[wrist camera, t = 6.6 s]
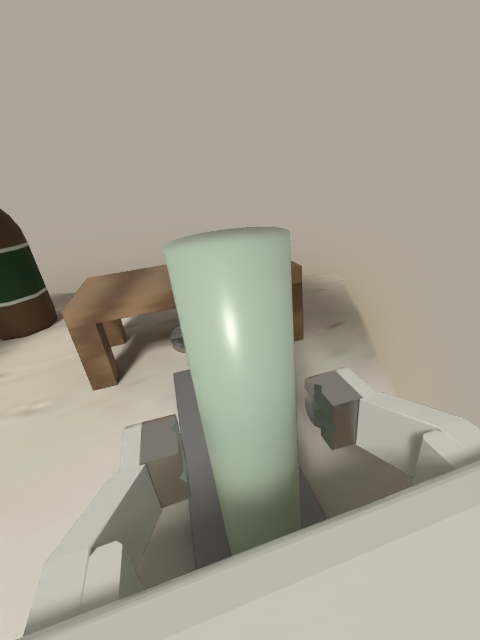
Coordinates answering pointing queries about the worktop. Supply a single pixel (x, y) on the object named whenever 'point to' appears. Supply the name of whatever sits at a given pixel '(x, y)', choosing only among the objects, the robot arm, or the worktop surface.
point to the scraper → (238, 390)
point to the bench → (130, 314)
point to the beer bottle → (21, 286)
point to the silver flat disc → (178, 340)
